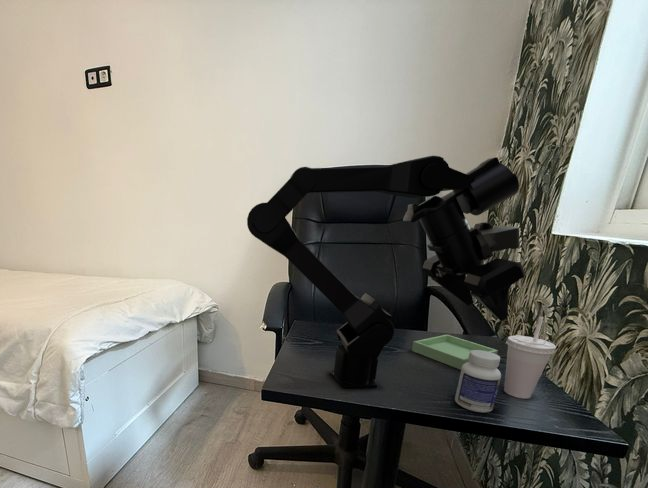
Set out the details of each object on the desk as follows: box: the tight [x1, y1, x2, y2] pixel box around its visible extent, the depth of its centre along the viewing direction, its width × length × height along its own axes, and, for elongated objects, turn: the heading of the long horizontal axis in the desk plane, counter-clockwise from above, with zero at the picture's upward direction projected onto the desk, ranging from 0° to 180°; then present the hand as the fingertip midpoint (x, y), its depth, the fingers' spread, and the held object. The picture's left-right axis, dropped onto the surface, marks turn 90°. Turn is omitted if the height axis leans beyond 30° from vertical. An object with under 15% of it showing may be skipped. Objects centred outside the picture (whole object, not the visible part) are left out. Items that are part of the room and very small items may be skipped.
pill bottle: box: [454, 350, 502, 414], centre depth 57 cm, size 5×5×9 cm
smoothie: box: [503, 316, 557, 400], centre depth 60 cm, size 6×6×14 cm
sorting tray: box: [411, 334, 499, 371], centre depth 78 cm, size 12×11×2 cm
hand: (485, 311), depth 61 cm, fingers open, 9 cm apart
